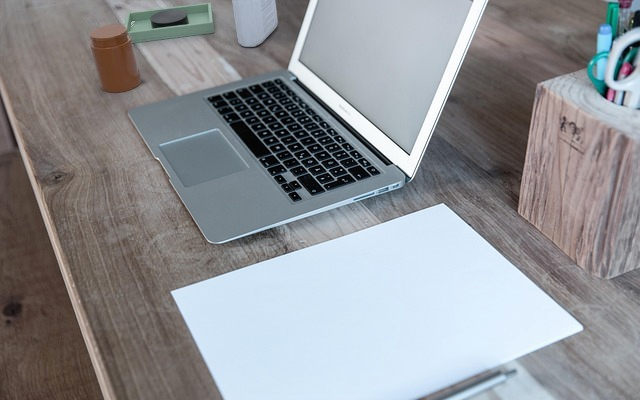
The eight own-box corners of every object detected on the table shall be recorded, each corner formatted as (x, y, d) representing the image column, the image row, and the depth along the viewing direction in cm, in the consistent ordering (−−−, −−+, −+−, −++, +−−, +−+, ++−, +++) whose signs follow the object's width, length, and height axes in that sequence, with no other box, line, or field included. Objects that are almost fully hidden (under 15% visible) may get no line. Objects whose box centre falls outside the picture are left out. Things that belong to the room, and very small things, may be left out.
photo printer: (258, 23, 124) (249, -49, 117) (281, 25, 123) (273, -48, 116) (235, 47, 116) (223, -28, 109) (259, 49, 115) (249, -28, 108)
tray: (125, 44, 121) (122, 33, 120) (129, 22, 129) (126, 12, 128) (214, 32, 122) (212, 22, 121) (212, 12, 130) (211, 2, 129)
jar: (99, 95, 105) (85, 41, 100) (103, 78, 110) (89, 26, 105) (140, 89, 106) (127, 36, 101) (142, 72, 111) (129, 21, 106)
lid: (195, 25, 124) (193, 16, 123) (161, 35, 122) (159, 26, 121) (179, 15, 129) (177, 6, 128) (146, 25, 126) (144, 16, 125)
